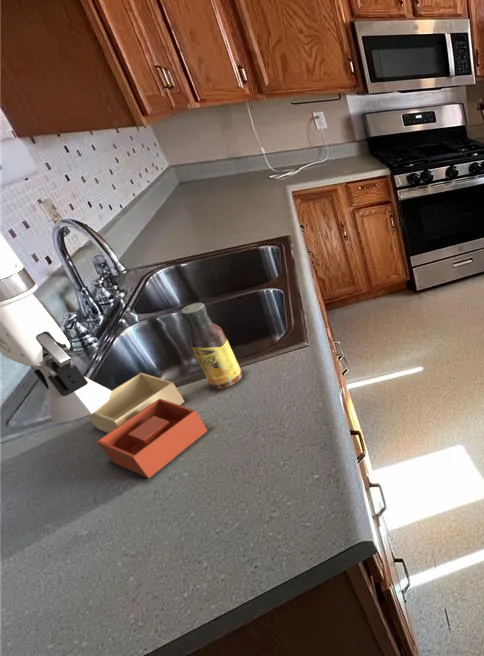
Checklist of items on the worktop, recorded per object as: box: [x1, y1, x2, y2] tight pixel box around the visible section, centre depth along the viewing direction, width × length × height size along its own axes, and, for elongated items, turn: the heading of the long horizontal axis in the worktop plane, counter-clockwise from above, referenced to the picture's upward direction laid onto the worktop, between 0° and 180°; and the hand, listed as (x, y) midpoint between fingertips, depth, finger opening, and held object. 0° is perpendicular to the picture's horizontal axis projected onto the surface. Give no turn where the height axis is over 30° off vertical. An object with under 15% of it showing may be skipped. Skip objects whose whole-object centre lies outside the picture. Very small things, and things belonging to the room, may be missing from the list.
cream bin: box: [86, 372, 185, 434], centre depth 85 cm, size 11×11×6 cm
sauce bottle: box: [180, 302, 243, 390], centre depth 89 cm, size 7×6×20 cm
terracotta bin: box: [95, 399, 208, 479], centre depth 77 cm, size 11×11×6 cm
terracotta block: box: [128, 416, 172, 450], centre depth 77 cm, size 4×4×4 cm
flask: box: [34, 359, 112, 423], centre depth 67 cm, size 7×7×10 cm
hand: (68, 386), depth 67 cm, fingers closed on flask, 3 cm apart
